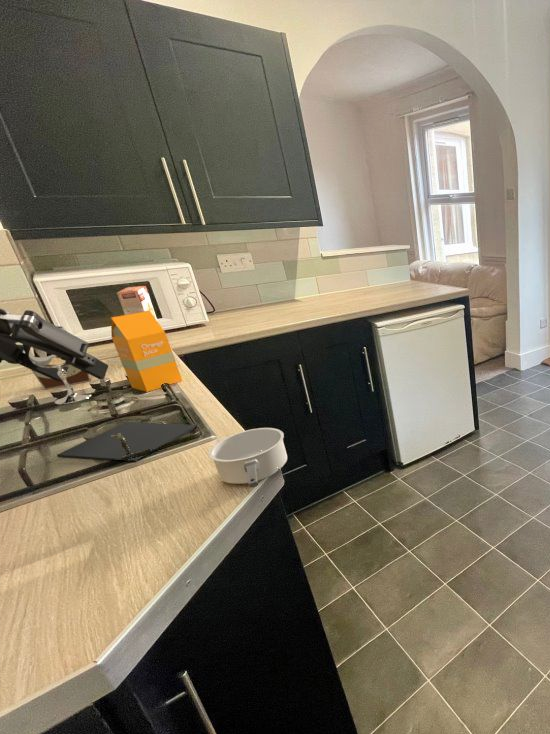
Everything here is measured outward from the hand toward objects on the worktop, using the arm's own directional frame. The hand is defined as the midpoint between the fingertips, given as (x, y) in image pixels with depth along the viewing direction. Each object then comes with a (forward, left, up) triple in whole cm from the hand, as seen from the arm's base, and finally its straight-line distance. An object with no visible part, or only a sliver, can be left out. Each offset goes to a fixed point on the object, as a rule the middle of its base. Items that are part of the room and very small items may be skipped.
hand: (83, 373), depth 73 cm
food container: (-59, +35, -18) cm, 71 cm away
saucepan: (+31, -3, -18) cm, 36 cm away
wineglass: (+1, -4, -3) cm, 5 cm away
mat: (-6, +7, -18) cm, 20 cm away
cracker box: (-68, +69, -18) cm, 98 cm away
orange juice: (-31, +36, -18) cm, 51 cm away
